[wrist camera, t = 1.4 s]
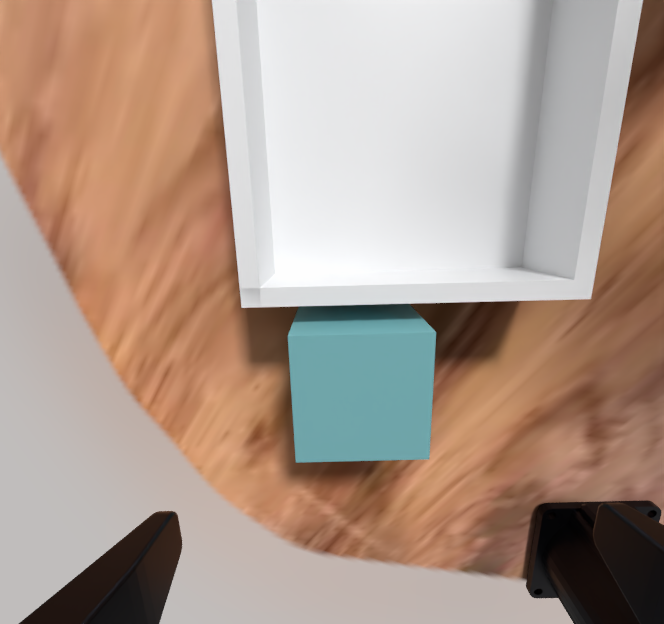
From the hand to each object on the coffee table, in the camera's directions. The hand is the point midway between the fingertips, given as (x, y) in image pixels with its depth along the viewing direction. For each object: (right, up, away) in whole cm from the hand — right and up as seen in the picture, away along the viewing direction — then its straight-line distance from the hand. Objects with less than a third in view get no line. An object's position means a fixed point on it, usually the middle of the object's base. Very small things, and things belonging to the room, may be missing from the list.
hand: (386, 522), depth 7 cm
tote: (+2, +13, +7) cm, 15 cm away
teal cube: (0, +3, +10) cm, 10 cm away
